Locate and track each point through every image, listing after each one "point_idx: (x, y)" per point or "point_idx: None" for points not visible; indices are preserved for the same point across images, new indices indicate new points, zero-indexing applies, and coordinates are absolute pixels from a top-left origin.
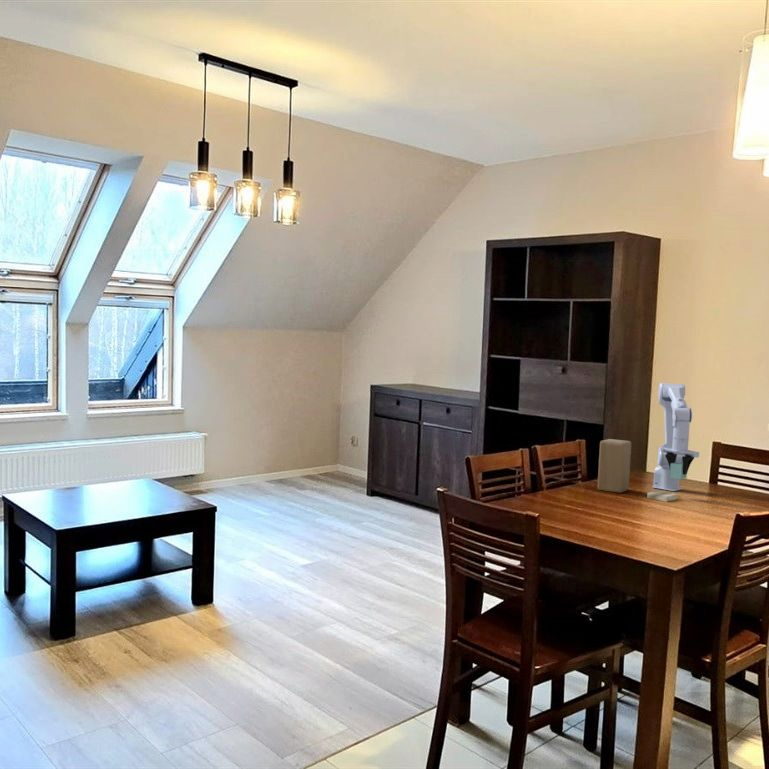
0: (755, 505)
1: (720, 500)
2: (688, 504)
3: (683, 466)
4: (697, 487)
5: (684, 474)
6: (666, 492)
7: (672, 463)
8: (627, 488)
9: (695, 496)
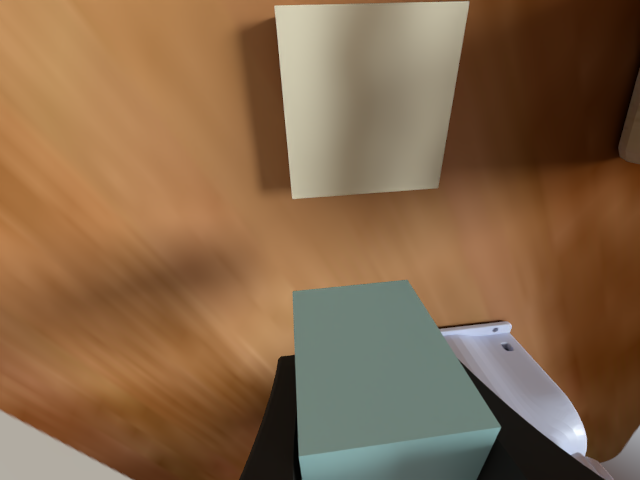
0: (23, 400)
1: (167, 359)
2: (133, 93)
3: (285, 449)
4: None
5: (279, 359)
6: (366, 177)
7: (474, 442)
8: (634, 124)
9: (285, 334)
